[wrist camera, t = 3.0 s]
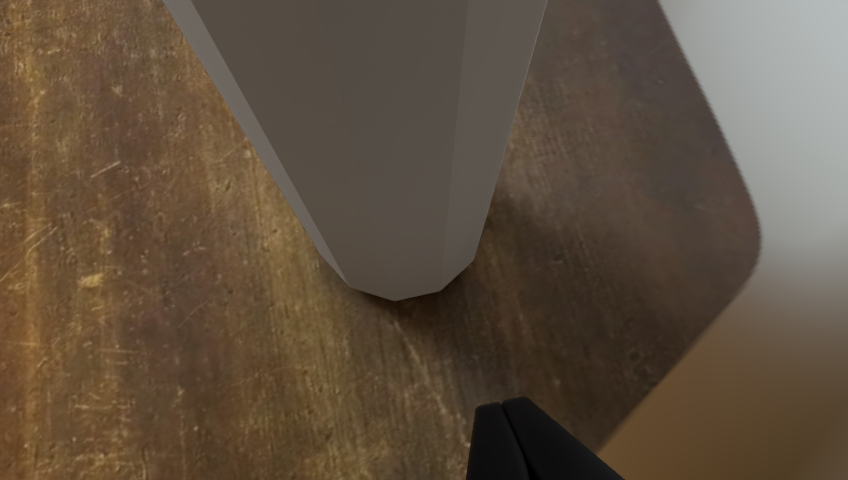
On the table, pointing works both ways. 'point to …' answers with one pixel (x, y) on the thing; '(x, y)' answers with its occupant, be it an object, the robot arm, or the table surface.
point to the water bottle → (375, 120)
